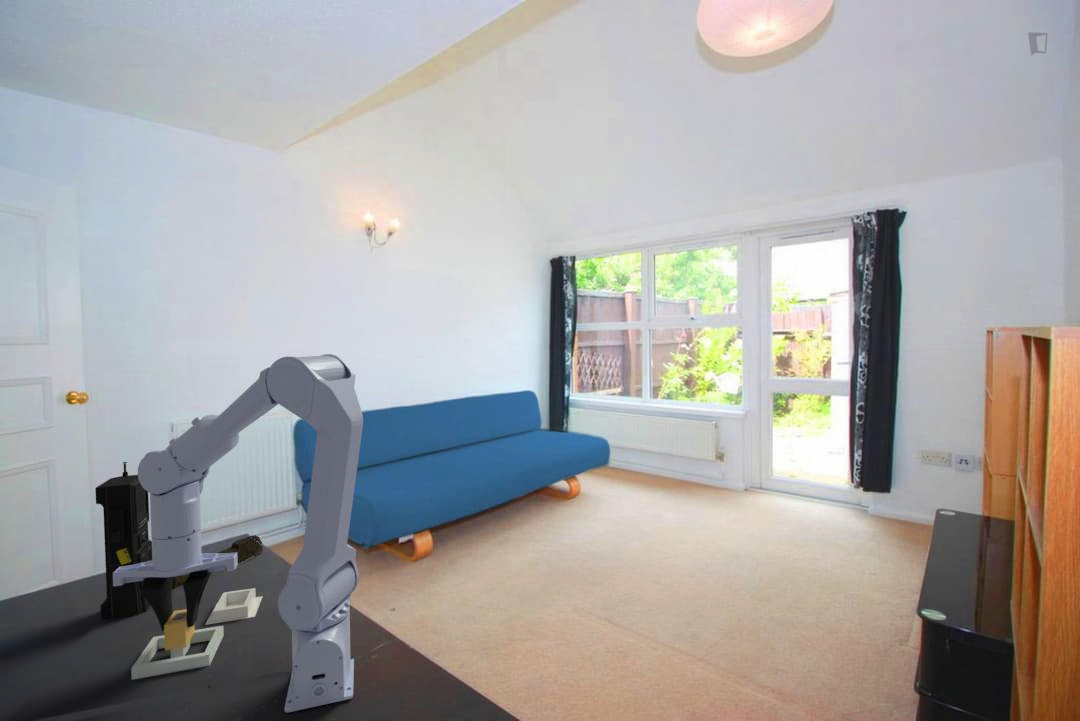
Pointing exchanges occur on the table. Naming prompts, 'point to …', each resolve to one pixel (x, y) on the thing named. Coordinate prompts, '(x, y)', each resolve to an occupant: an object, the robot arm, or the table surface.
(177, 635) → the block
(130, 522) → the portable radio
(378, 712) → the table surface
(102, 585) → the table surface
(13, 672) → the table surface
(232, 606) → the white open box
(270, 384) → the robot arm
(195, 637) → the parts tray
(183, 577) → the dark brown log
